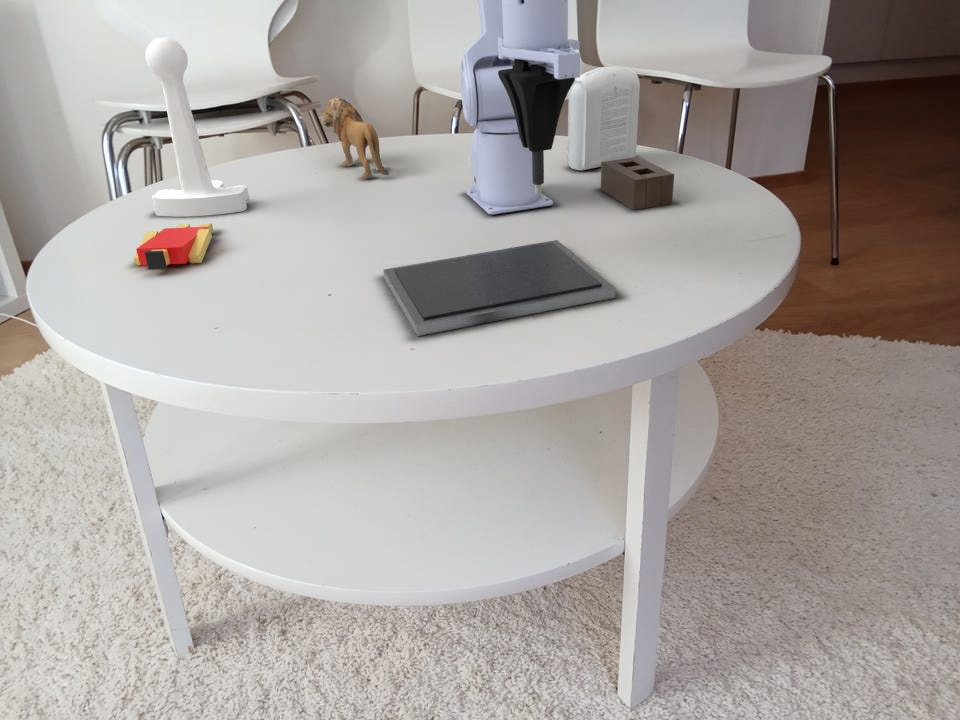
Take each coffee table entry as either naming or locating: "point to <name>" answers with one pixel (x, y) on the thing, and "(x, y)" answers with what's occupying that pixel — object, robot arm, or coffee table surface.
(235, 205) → the joystick
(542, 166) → the stylus
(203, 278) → the coffee table surface
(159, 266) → the toy figure
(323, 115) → the lion figurine
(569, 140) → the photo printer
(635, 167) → the holder
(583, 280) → the tablet
